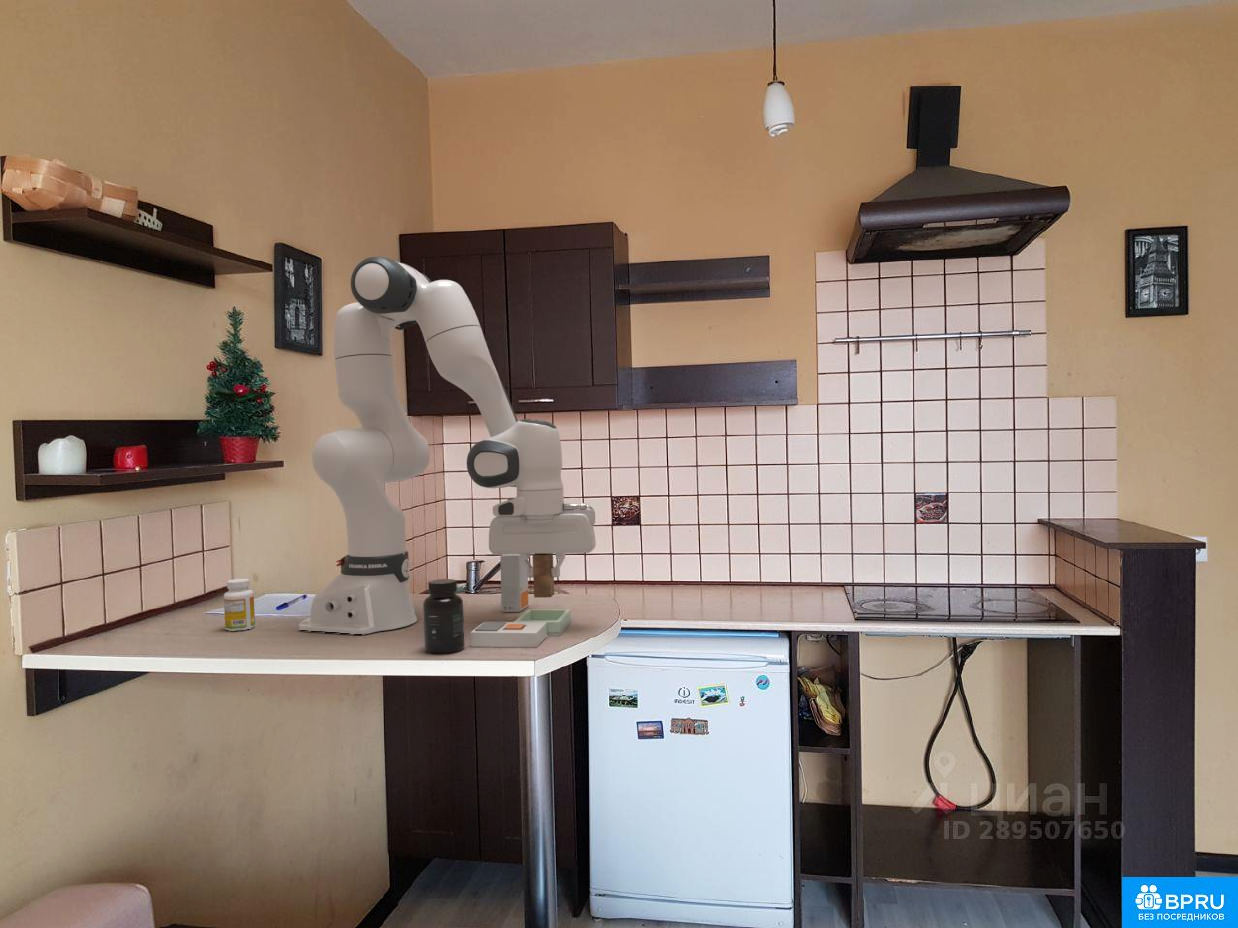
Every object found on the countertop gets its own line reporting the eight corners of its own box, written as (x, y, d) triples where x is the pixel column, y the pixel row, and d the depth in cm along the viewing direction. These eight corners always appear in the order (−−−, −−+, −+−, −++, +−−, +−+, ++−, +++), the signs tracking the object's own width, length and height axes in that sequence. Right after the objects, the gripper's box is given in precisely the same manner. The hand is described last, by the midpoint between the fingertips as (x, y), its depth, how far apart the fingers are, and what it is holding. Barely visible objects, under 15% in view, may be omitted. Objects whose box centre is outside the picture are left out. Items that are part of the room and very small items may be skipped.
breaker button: (504, 640, 147) (504, 627, 147) (509, 635, 150) (508, 623, 150) (520, 640, 146) (520, 628, 146) (525, 636, 149) (524, 624, 149)
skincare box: (520, 612, 171) (518, 555, 171) (501, 612, 172) (499, 555, 172) (529, 606, 177) (527, 551, 177) (510, 605, 178) (509, 550, 178)
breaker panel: (470, 646, 145) (469, 630, 145) (484, 635, 153) (483, 620, 153) (536, 647, 143) (536, 631, 143) (547, 635, 151) (546, 620, 151)
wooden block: (534, 597, 155) (532, 554, 155) (538, 594, 158) (536, 551, 158) (550, 597, 155) (549, 554, 155) (554, 594, 158) (552, 551, 158)
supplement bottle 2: (416, 651, 142) (413, 583, 142) (443, 642, 148) (441, 576, 148) (445, 656, 139) (443, 586, 138) (472, 646, 145) (470, 579, 144)
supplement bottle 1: (244, 624, 167) (242, 576, 166) (261, 627, 164) (258, 578, 164) (219, 630, 162) (217, 581, 162) (236, 633, 159) (234, 583, 159)
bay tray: (514, 635, 152) (513, 621, 152) (528, 621, 163) (528, 609, 163) (559, 635, 151) (559, 622, 151) (571, 621, 162) (570, 609, 162)
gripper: (597, 501, 158) (600, 573, 158) (494, 504, 161) (497, 574, 161) (591, 504, 151) (594, 579, 152) (484, 507, 154) (487, 580, 155)
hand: (543, 576), depth 157 cm, fingers closed on wooden block, 3 cm apart
